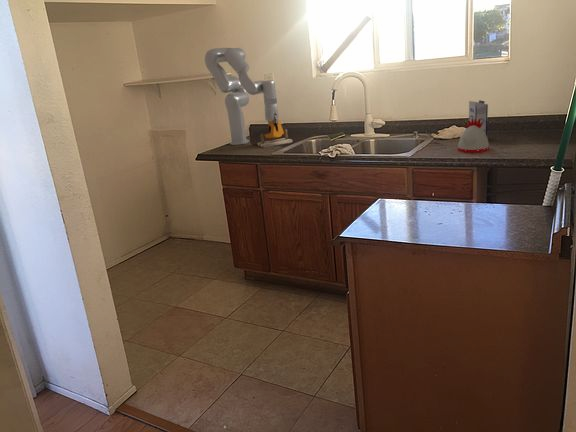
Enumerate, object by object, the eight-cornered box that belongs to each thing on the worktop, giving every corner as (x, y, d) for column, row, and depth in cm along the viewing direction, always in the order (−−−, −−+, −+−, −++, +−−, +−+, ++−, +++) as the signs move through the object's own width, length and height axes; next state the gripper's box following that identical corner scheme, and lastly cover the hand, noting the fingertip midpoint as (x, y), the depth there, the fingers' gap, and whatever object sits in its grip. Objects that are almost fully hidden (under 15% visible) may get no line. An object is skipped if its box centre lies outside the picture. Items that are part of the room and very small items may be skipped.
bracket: (274, 136, 305) (271, 116, 302) (284, 135, 301) (281, 115, 298) (264, 139, 296) (261, 119, 293) (274, 138, 292) (270, 118, 289)
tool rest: (257, 145, 301) (256, 133, 298) (285, 140, 308) (284, 128, 305) (264, 147, 292) (262, 134, 290) (292, 142, 299) (291, 129, 297)
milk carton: (468, 139, 258) (468, 100, 252) (480, 137, 258) (481, 99, 252) (474, 141, 251) (475, 101, 245) (487, 139, 252) (488, 100, 245)
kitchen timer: (481, 154, 225) (482, 121, 220) (453, 152, 234) (453, 120, 229) (493, 147, 234) (494, 116, 229) (465, 146, 243) (465, 115, 238)
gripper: (259, 102, 298) (262, 131, 304) (270, 103, 283) (273, 134, 289) (270, 100, 301) (273, 129, 306) (282, 101, 286) (285, 132, 292)
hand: (273, 131), depth 298 cm, fingers closed on bracket, 5 cm apart
